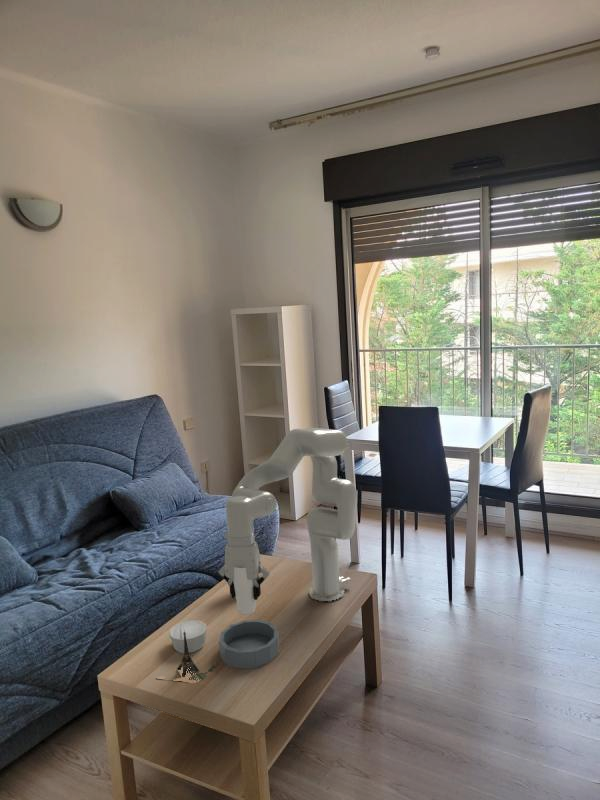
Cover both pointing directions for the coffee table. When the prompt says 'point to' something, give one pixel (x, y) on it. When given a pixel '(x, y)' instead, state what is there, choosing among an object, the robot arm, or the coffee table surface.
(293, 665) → the coffee table surface
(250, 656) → the bowl
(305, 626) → the coffee table surface
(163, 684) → the coffee table surface
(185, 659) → the eiffel tower figurine
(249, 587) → the drinking glass
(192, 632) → the ramekin
